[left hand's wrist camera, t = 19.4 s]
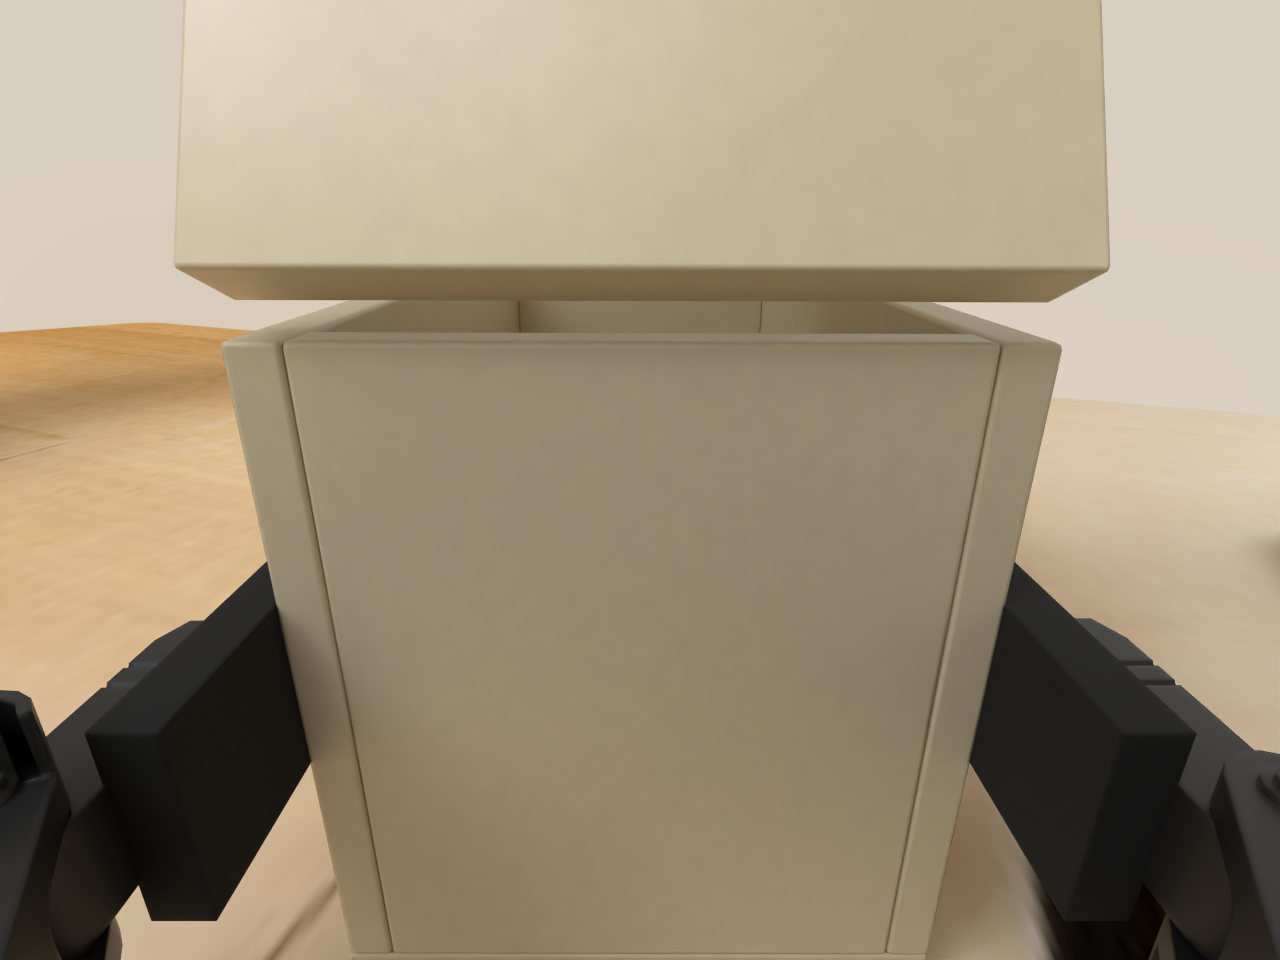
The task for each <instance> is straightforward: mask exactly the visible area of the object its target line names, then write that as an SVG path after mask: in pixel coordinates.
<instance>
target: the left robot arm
mask: <svg viewBox="0 0 1280 960" xmlns="http://www.w3.org/2000/svg"><path fill="white" fill-rule="evenodd" d="M310 763H311V760H310V756H309V751H308V747H307V742H306V738H305V733H304V728H303V724H302V719H301V715H300V710H299V706H298V701H297V696H296V692H295V687H294V683H293V678H292V674H291V669H290V664H289V660H288V655H287V651H286V646H285V642H284V637H283V632H282V628H281V623H280V619H279V614H278V609H277V605H276V600H275V595H274V591H273V586H272V582H271V577H270V572H269V568H268V563H267V562H266V563H265V564H264V565H263V566H261V567H260V568H259V569H258V570H257V571H256V572H255V573H254V574H253V575H252V576H251V577H250V578H249V579H248V580H247V581H246V582H244V583H243V584H242V585H241V586H240V587H239V588H238V589H237V590H236V591H235V592H234V593H233V594H232V595H231V596H230V597H229V598H227V599H226V600H225V601H224V602H223V603H222V604H221V605H220V606H219V607H218V608H217V609H216V610H215V611H214V612H213V613H212V614H210V615H209V616H208V617H207V618H206V619H205V620H204V621H189V622H187V623H186V624H184V625H182V626H180V627H178V628H177V629H175V630H173V631H171V632H169V633H167V634H166V635H164V636H162V637H160V638H158V639H156V640H155V641H154V642H152V643H151V644H150V645H149V646H148V647H147V648H146V649H145V650H143V651H142V652H141V653H140V654H139V655H138V656H137V657H136V658H134V659H133V660H132V661H131V662H130V663H129V667H128V668H123V669H122V670H121V671H120V672H119V673H117V674H116V675H115V676H114V677H113V678H112V679H111V680H110V681H108V682H107V687H106V688H101V689H99V690H98V691H97V692H96V693H95V694H94V695H93V696H92V697H90V698H89V699H88V700H87V701H86V702H85V703H84V704H83V705H81V706H80V707H79V708H78V709H77V710H76V711H75V712H73V713H72V714H71V715H70V716H69V717H68V718H67V719H66V720H64V721H63V722H62V723H61V724H60V725H59V726H58V727H57V728H55V729H54V730H53V731H52V732H51V733H50V734H49V735H48V736H45V734H44V731H43V728H42V726H41V723H40V721H39V718H38V715H37V713H36V710H35V708H34V705H33V702H32V700H31V698H29V697H28V696H26V695H24V694H22V693H21V692H19V691H5V690H0V960H120V959H121V952H122V939H121V933H120V928H119V926H118V923H117V921H116V918H115V916H116V915H117V913H118V912H119V911H120V909H121V908H122V907H123V905H124V904H125V902H126V901H127V900H128V898H129V897H130V896H131V894H132V893H133V892H134V890H135V889H136V888H137V886H138V885H139V887H140V890H141V893H142V896H143V898H144V901H145V904H146V907H147V910H148V912H149V915H150V918H151V921H217V919H218V918H219V916H220V914H221V913H222V911H223V909H224V908H225V906H226V904H227V903H228V901H229V899H230V898H231V896H232V894H233V893H234V891H235V889H236V888H237V886H238V884H239V883H240V881H241V879H242V877H243V876H244V874H245V872H246V871H247V869H248V867H249V866H250V864H251V862H252V861H253V859H254V857H255V856H256V854H257V852H258V851H259V849H260V847H261V846H262V844H263V842H264V841H265V839H266V837H267V835H268V834H269V832H270V830H271V829H272V827H273V825H274V824H275V822H276V820H277V819H278V817H279V815H280V814H281V812H282V810H283V809H284V807H285V805H286V804H287V802H288V800H289V799H290V797H291V795H292V794H293V792H294V790H295V788H296V787H297V785H298V783H299V782H300V780H301V778H302V777H303V775H304V773H305V772H306V770H307V768H308V767H309V765H310ZM970 764H971V765H972V767H973V769H974V770H975V772H976V774H977V775H978V777H979V779H980V780H981V782H982V784H983V786H984V787H985V789H986V791H987V792H988V794H989V796H990V797H991V799H992V801H993V802H994V804H995V806H996V807H997V809H998V811H999V812H1000V814H1001V816H1002V817H1003V819H1004V821H1005V822H1006V824H1007V826H1008V827H1009V829H1010V831H1011V833H1012V834H1013V836H1014V838H1015V839H1016V841H1017V843H1018V844H1019V846H1020V848H1021V849H1022V851H1023V853H1024V854H1025V856H1026V858H1027V859H1028V861H1029V863H1030V864H1031V866H1032V868H1033V869H1034V871H1035V873H1036V874H1037V876H1038V878H1039V880H1040V881H1041V883H1042V885H1043V886H1044V888H1045V890H1046V891H1047V893H1048V895H1049V896H1050V898H1051V900H1052V901H1053V903H1054V905H1055V906H1056V908H1057V910H1058V911H1059V913H1060V915H1061V916H1062V918H1063V920H1064V921H1130V918H1131V915H1132V912H1133V910H1134V907H1135V904H1136V901H1137V898H1138V896H1139V893H1140V890H1141V887H1142V885H1143V883H1144V884H1145V885H1146V887H1147V888H1148V889H1149V891H1150V892H1151V893H1152V895H1153V896H1154V897H1155V899H1156V900H1157V901H1158V903H1159V904H1160V905H1161V907H1162V908H1163V909H1164V911H1165V912H1166V915H1165V918H1164V921H1163V923H1162V926H1161V928H1160V931H1159V933H1158V936H1157V939H1156V941H1155V944H1154V946H1153V949H1152V952H1151V954H1150V957H1149V959H1148V960H1280V754H1277V753H1271V752H1266V751H1261V750H1258V751H1255V750H1253V749H1252V748H1251V747H1250V746H1249V745H1248V744H1247V743H1246V742H1244V741H1243V740H1242V739H1241V738H1240V737H1239V736H1238V735H1236V734H1235V733H1234V732H1233V731H1232V730H1231V729H1230V728H1228V727H1227V726H1226V725H1225V724H1224V723H1223V722H1222V721H1220V720H1219V719H1218V718H1217V717H1216V716H1215V715H1214V714H1213V713H1211V712H1210V711H1209V710H1208V709H1207V708H1206V707H1205V706H1203V705H1202V704H1201V703H1200V702H1199V701H1198V700H1197V699H1195V698H1194V697H1193V696H1192V695H1191V694H1190V693H1189V692H1188V691H1186V690H1185V689H1184V688H1183V687H1182V686H1181V685H1175V680H1174V679H1173V678H1172V677H1170V676H1169V675H1168V674H1167V673H1166V672H1165V671H1164V670H1163V669H1161V668H1160V667H1159V666H1154V665H1153V661H1152V660H1151V659H1150V658H1149V657H1148V656H1147V655H1145V654H1144V653H1143V652H1142V651H1141V650H1140V649H1139V648H1138V647H1136V646H1135V645H1134V644H1133V643H1132V642H1131V641H1130V640H1128V639H1127V638H1126V637H1124V636H1122V635H1120V634H1118V633H1117V632H1115V631H1113V630H1111V629H1109V628H1107V627H1106V626H1104V625H1102V624H1100V623H1098V622H1096V621H1095V620H1093V619H1075V618H1074V617H1073V616H1071V615H1070V614H1069V613H1068V612H1067V611H1066V610H1065V609H1064V608H1063V607H1062V606H1061V605H1060V604H1059V603H1058V602H1057V601H1055V600H1054V599H1053V598H1052V597H1051V596H1050V595H1049V594H1048V593H1047V592H1046V591H1045V590H1044V589H1043V588H1042V587H1041V586H1040V585H1038V584H1037V583H1036V582H1035V581H1034V580H1033V579H1032V578H1031V577H1030V576H1029V575H1028V574H1027V573H1026V572H1025V571H1024V570H1023V569H1021V568H1020V567H1019V566H1018V565H1017V564H1016V563H1015V562H1014V566H1013V571H1012V575H1011V579H1010V584H1009V588H1008V593H1007V597H1006V602H1005V605H1004V608H1003V613H1002V618H1001V622H1000V627H999V631H998V636H997V640H996V645H995V649H994V654H993V658H992V663H991V667H990V672H989V676H988V681H987V685H986V690H985V694H984V699H983V703H982V708H981V712H980V717H979V722H978V726H977V731H976V735H975V740H974V744H973V749H972V753H971V758H970Z"/></svg>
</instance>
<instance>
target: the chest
mask: <svg viewBox="0 0 1280 960" xmlns="http://www.w3.org/2000/svg"><path fill="white" fill-rule="evenodd" d="M221 350H222V355H223V359H224V364H225V369H226V373H227V378H228V383H229V387H230V392H231V397H232V401H233V406H234V410H235V415H236V420H237V424H238V429H239V434H240V438H241V443H242V447H243V452H244V457H245V461H246V466H247V471H248V475H249V480H250V484H251V489H252V494H253V498H254V503H255V508H256V512H257V517H258V521H259V526H260V531H261V535H262V540H263V545H264V549H265V554H266V558H267V563H268V568H269V572H270V577H271V582H272V586H273V591H274V595H275V600H276V605H277V609H278V614H279V619H280V623H281V628H282V632H283V637H284V642H285V646H286V651H287V655H288V660H289V664H290V669H291V674H292V678H293V683H294V687H295V692H296V696H297V701H298V706H299V710H300V715H301V719H302V724H303V728H304V733H305V738H306V742H307V747H308V751H309V756H310V760H311V767H312V771H313V776H314V781H315V785H316V790H317V794H318V799H319V804H320V808H321V813H322V818H323V822H324V827H325V831H326V836H327V841H328V845H329V850H330V855H331V859H332V864H333V868H334V873H335V878H336V882H337V887H338V892H339V896H340V901H341V905H342V910H343V915H344V919H345V924H346V929H347V933H348V938H349V942H350V947H351V951H352V952H353V953H352V959H353V960H926V952H927V950H928V945H929V941H930V936H931V932H932V927H933V923H934V918H935V914H936V909H937V905H938V901H939V896H940V892H941V887H942V883H943V878H944V874H945V869H946V865H947V860H948V856H949V852H950V847H951V843H952V838H953V834H954V829H955V825H956V820H957V816H958V811H959V807H960V802H961V798H962V794H963V789H964V785H965V780H966V776H967V771H968V767H969V762H970V758H971V753H972V749H973V744H974V740H975V735H976V731H977V726H978V722H979V717H980V712H981V708H982V703H983V699H984V694H985V690H986V685H987V681H988V676H989V672H990V667H991V663H992V658H993V654H994V649H995V645H996V640H997V636H998V631H999V627H1000V622H1001V618H1002V613H1003V608H1004V605H1005V602H1006V597H1007V593H1008V588H1009V584H1010V579H1011V575H1012V571H1013V566H1014V562H1015V557H1016V553H1017V548H1018V544H1019V539H1020V535H1021V530H1022V526H1023V521H1024V517H1025V513H1026V508H1027V504H1028V499H1029V495H1030V490H1031V486H1032V481H1033V477H1034V472H1035V468H1036V463H1037V459H1038V455H1039V450H1040V446H1041V441H1042V437H1043V432H1044V428H1045V423H1046V419H1047V414H1048V410H1049V406H1050V401H1051V397H1052V392H1053V388H1054V383H1055V379H1056V374H1057V370H1058V365H1059V361H1060V356H1061V352H1062V350H1061V345H1060V344H1058V343H1055V342H1053V341H1049V340H1046V339H1043V338H1040V337H1037V336H1034V335H1031V334H1028V333H1025V332H1022V331H1019V330H1016V329H1012V328H1009V327H1006V326H1003V325H1000V324H997V323H994V322H991V321H988V320H985V319H982V318H979V317H975V316H972V315H969V314H966V313H963V312H960V311H957V310H954V309H951V308H948V307H945V306H942V305H938V304H935V303H932V302H778V301H461V300H350V301H347V302H344V303H341V304H338V305H334V306H331V307H328V308H325V309H322V310H319V311H316V312H313V313H310V314H306V315H304V316H300V317H297V318H294V319H291V320H288V321H285V322H282V323H278V324H276V325H272V326H269V327H266V328H263V329H260V330H257V331H253V332H250V333H247V334H244V335H241V336H238V337H235V338H232V339H229V340H226V341H224V342H223V343H222V345H221Z"/></svg>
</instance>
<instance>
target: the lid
mask: <svg viewBox="0 0 1280 960" xmlns="http://www.w3.org/2000/svg"><path fill="white" fill-rule="evenodd" d="M174 264H175V267H176V268H177V269H178V270H180V271H182V272H184V273H186V274H188V275H190V276H191V277H193V278H195V279H197V280H199V281H201V282H203V283H204V284H206V285H208V286H210V287H212V288H214V289H216V290H217V291H219V292H221V293H223V294H225V295H227V296H229V297H231V298H233V299H235V300H461V301H778V302H1049V301H1052V300H1054V299H1056V298H1058V297H1059V296H1061V295H1063V294H1065V293H1067V292H1069V291H1071V290H1073V289H1075V288H1077V287H1079V286H1081V285H1082V284H1084V283H1086V282H1088V281H1090V280H1092V279H1094V278H1096V277H1098V276H1100V275H1102V274H1104V273H1105V272H1107V271H1108V270H1109V267H1110V248H1109V218H1108V188H1107V158H1106V127H1105V97H1104V67H1103V36H1102V5H1101V0H184V7H183V33H182V59H181V85H180V111H179V137H178V164H177V190H176V216H175V242H174Z"/></svg>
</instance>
